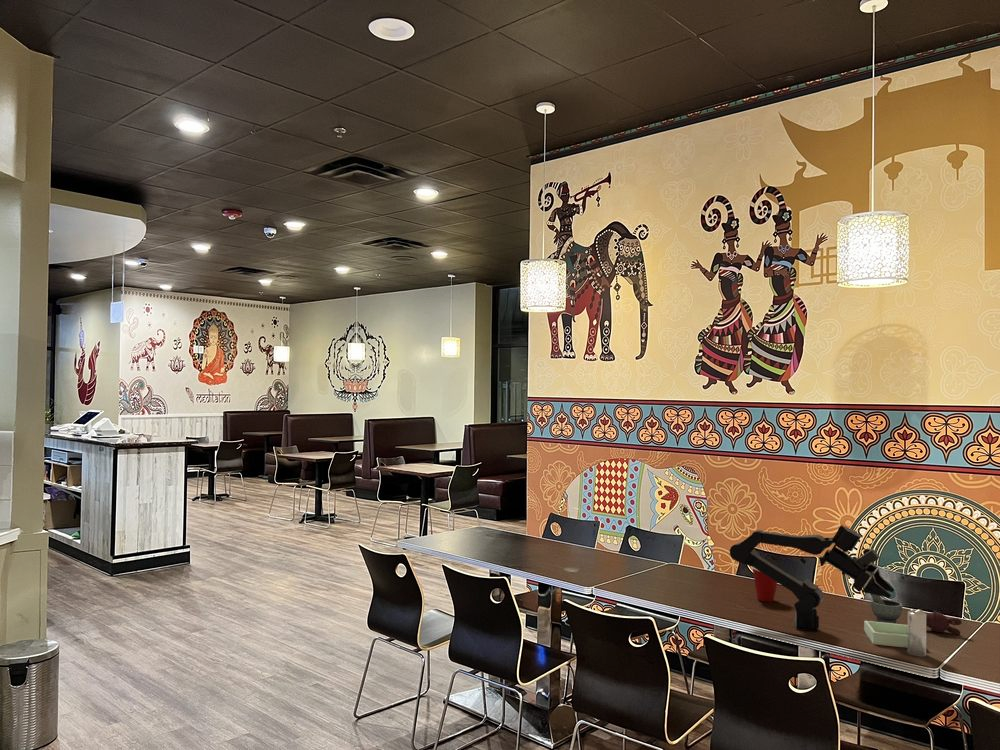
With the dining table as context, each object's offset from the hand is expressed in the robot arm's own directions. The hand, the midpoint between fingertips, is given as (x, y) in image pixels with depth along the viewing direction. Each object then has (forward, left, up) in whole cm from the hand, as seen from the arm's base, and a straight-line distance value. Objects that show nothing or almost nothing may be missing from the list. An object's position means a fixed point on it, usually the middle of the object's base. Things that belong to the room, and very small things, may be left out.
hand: (891, 593), depth 226 cm
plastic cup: (-34, +42, -16) cm, 56 cm away
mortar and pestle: (+3, +26, -16) cm, 30 cm away
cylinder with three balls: (+5, -7, -16) cm, 18 cm away
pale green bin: (+1, +5, -15) cm, 16 cm away
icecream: (+17, +21, -16) cm, 31 cm away
